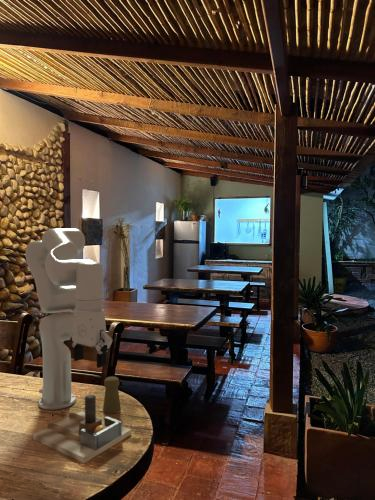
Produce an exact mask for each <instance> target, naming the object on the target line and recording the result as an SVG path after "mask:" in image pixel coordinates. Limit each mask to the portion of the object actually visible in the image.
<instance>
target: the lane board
mask: <svg viewBox="0 0 375 500" xmlns="http://www.w3.org/2000/svg"><path fill="white" fill-rule="evenodd" d="M96 417H97V418H100V419H102V425H104V419H103V418H101V417H98V416H96ZM83 420H85V411H82V410H80V411H79V412H77V413H75V412H72V411H70V412H68V417H65V418H63V419H61V420H59V421H57V422H55V423H54V422H51V421H48V422H47V424H46V427H45V428H42V429H40V430H38V431H37V432H34V433H33V434H32V439H33V440H35V441H37V442H39V443H41V444H42V445H45V446H47V447H49V448H51V449H53V450H55V451H58V452H60V453H61V454H63V455H66V456H68V457H70V458H72V459H75V460H76V461H78V462H80V463H82V464H86V463H87V462H88V461H90V460H92V459H94V458H96V457H97V456H98V455H100V454H102V453H103V452H106V450H108V449H110V448H111V447H113V446H114V445H117V444H119V443H120V442H121V441H123V440H124V439H126V438H127V437H129V436H131V435H132V429H131V428H129V427H126V426H122V435H121V436H119V437H118V438H116V439H114V440H113V441H111V442H109V443H108V444H106V445H104V446H103V447H101V448H99V449H98V450H96V451H95V450H93V449H90V448H88V447H86V446H84V445H81V436H80V434H79V422H81V421H83Z"/></svg>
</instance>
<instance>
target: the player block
mask: <svg viewBox="0 0 375 500" xmlns="http://www.w3.org/2000/svg"><path fill="white" fill-rule="evenodd" d="M96 397H97V396H96V395H94V394H89V395H86V396H85V397H84V412H85V420H83V421H81V422H79V434H80V430H81V429H86V430H88V431H90V432H93V433H94V431H95V429H96V427H97V426H99V425H102V419H103V418H101V417H99V418H97V417H98V416H97V414H96V410H97V409H96ZM100 418H101V419H100Z"/></svg>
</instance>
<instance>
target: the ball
mask: <svg viewBox="0 0 375 500" xmlns="http://www.w3.org/2000/svg"><path fill="white" fill-rule="evenodd" d="M105 428H107V427H106V426H105V425H99V426H97V427H96V429H95V431H94V433H95V434H96V433H98V432H99V431H101V430H103V429H105Z"/></svg>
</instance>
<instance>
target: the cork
mask: <svg viewBox="0 0 375 500" xmlns="http://www.w3.org/2000/svg"><path fill="white" fill-rule="evenodd" d="M103 386H104V388H105V389H104V390H105V391H104V398H103V399H104V400H103V408H102V412H103V413H105V414H116V413H118V412H120V411H121V410H122V407H121V401H120V395H119V393H120V392H119V386H120V379H119V378H118V377H117V376H108V377H106V378H105V379H104V381H103Z"/></svg>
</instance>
